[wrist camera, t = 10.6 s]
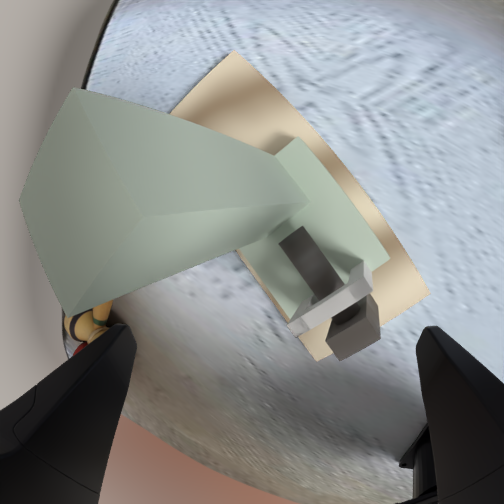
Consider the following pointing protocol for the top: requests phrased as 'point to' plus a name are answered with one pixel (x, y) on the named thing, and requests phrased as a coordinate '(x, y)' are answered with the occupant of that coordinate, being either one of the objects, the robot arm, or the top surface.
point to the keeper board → (271, 134)
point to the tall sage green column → (183, 208)
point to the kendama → (88, 324)
